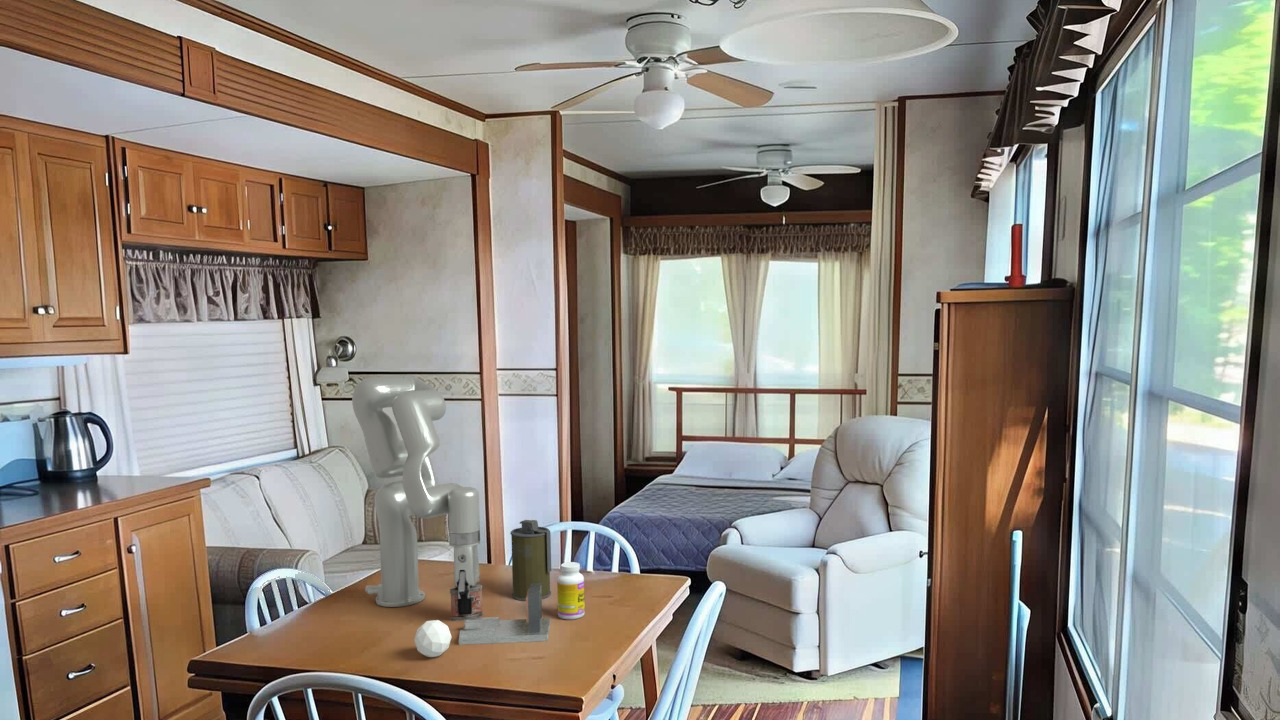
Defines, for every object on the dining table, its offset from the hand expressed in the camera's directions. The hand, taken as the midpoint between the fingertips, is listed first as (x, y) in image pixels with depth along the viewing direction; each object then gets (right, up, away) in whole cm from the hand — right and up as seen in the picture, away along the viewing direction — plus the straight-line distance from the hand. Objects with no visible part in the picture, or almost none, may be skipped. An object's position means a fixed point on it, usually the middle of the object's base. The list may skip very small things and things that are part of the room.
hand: (466, 610), depth 207 cm
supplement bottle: (+26, -2, -1) cm, 26 cm away
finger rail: (+12, -2, -12) cm, 17 cm away
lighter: (0, -2, 0) cm, 2 cm away
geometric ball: (-2, -3, -24) cm, 24 cm away
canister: (+14, -1, +17) cm, 22 cm away
